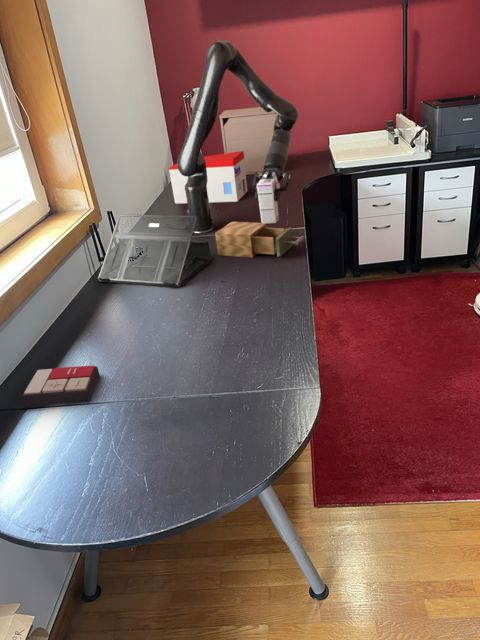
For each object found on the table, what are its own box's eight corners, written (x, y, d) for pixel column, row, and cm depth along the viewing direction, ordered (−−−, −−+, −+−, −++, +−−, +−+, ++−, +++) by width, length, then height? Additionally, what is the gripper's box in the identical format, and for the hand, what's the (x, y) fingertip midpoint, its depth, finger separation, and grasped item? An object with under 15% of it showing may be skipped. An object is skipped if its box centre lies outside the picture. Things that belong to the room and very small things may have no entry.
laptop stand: (96, 283, 181) (82, 233, 172) (138, 255, 203) (128, 209, 194) (177, 289, 170) (167, 236, 161) (212, 258, 192) (205, 210, 183)
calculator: (86, 388, 116) (20, 393, 116) (90, 403, 118) (25, 408, 118) (97, 363, 125) (36, 367, 125) (100, 377, 128) (40, 381, 127)
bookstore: (238, 201, 260) (233, 159, 250) (175, 203, 269) (167, 162, 258) (248, 191, 278) (243, 150, 267) (188, 193, 286) (182, 154, 275)
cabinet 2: (267, 245, 199) (265, 223, 195) (252, 257, 189) (250, 234, 184) (234, 242, 205) (232, 221, 201) (218, 255, 195) (215, 232, 190)
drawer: (308, 246, 191) (307, 228, 188) (295, 258, 182) (294, 239, 178) (261, 242, 199) (259, 225, 196) (246, 254, 190) (244, 236, 186)
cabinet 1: (226, 176, 315) (219, 116, 298) (231, 166, 340) (224, 110, 323) (282, 171, 312) (278, 110, 295) (283, 162, 337) (279, 105, 320)
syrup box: (276, 223, 183) (273, 182, 176) (260, 223, 185) (256, 183, 177) (279, 218, 188) (276, 178, 181) (263, 218, 190) (259, 179, 182)
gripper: (255, 152, 183) (244, 194, 181) (291, 151, 178) (281, 195, 175) (262, 164, 190) (252, 204, 187) (298, 164, 184) (288, 205, 181)
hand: (266, 199), depth 181 cm, fingers closed on syrup box, 6 cm apart
